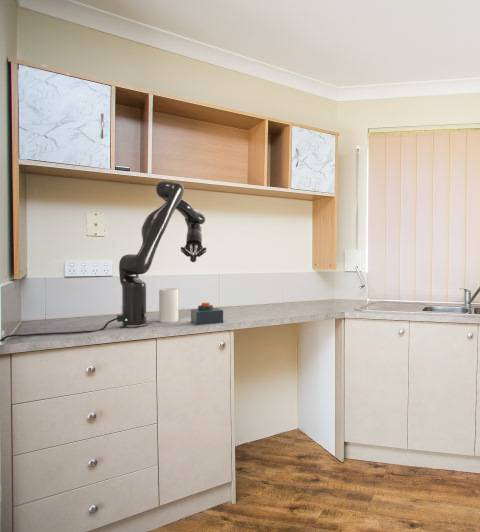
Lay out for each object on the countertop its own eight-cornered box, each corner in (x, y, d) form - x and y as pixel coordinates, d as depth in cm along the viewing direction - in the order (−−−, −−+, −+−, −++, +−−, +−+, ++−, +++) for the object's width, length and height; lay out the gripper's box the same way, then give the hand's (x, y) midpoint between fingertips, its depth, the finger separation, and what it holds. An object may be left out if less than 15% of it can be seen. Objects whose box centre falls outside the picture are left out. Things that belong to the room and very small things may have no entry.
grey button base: (196, 325, 186) (196, 308, 185) (190, 321, 194) (190, 305, 194) (223, 322, 193) (223, 306, 193) (216, 319, 202) (216, 304, 202)
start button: (202, 307, 193) (202, 303, 193) (200, 306, 196) (200, 302, 196) (210, 306, 195) (210, 303, 195) (208, 305, 198) (208, 302, 198)
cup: (162, 319, 199) (162, 288, 198) (180, 319, 200) (180, 288, 200) (156, 322, 191) (156, 289, 190) (174, 322, 192) (174, 289, 192)
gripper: (180, 233, 212) (178, 256, 202) (207, 234, 218) (207, 256, 207) (180, 243, 217) (179, 266, 207) (207, 243, 223) (207, 266, 212)
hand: (193, 261), depth 207 cm, fingers closed
